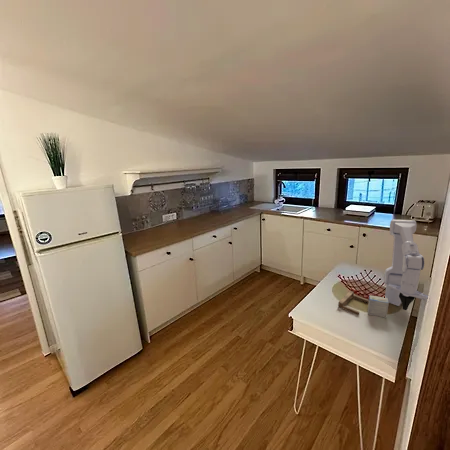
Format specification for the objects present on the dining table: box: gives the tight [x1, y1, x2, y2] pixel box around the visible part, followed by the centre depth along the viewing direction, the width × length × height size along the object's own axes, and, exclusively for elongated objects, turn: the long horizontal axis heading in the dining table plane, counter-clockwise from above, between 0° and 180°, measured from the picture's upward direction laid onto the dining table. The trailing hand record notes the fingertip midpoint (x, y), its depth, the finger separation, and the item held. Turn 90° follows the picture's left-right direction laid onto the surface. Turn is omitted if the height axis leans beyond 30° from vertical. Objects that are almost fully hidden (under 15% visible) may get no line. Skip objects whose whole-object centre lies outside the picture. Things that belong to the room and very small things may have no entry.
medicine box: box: [367, 294, 390, 319], centre depth 124 cm, size 8×4×9 cm, turn 65°
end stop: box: [337, 290, 369, 316], centre depth 133 cm, size 14×10×3 cm
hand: (405, 308), depth 112 cm, fingers closed
